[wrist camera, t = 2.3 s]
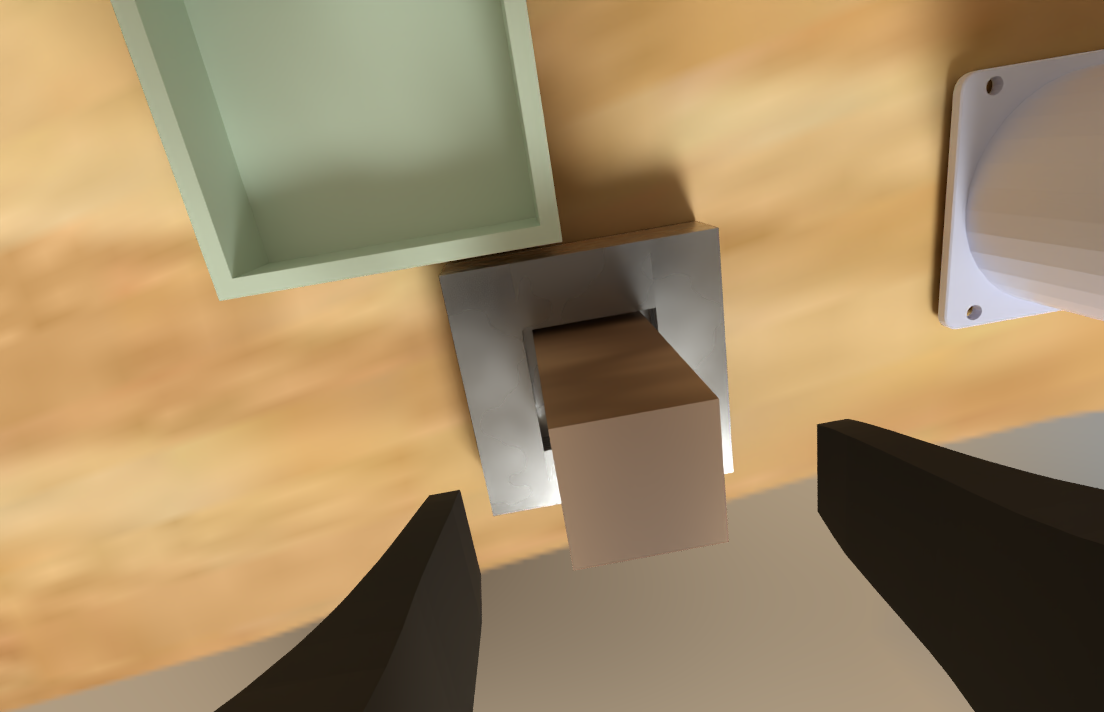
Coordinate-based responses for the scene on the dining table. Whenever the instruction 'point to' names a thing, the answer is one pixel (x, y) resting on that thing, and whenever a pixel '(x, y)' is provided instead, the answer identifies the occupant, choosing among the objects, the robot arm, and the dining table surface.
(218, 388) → the dining table surface
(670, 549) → the strut
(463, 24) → the bin
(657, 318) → the socket block
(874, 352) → the dining table surface
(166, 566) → the dining table surface
